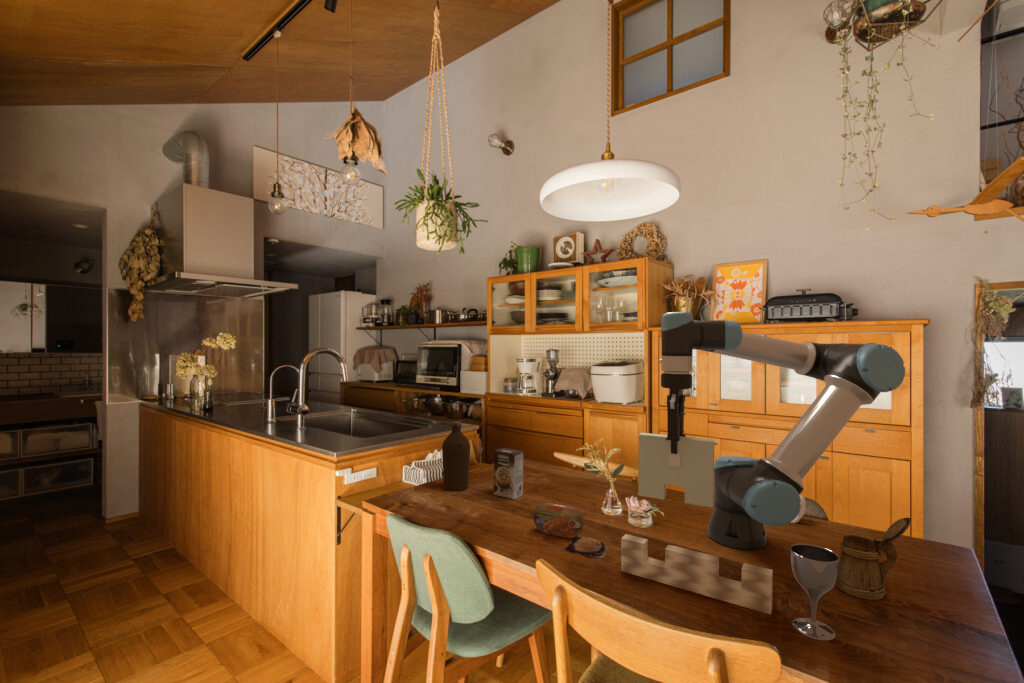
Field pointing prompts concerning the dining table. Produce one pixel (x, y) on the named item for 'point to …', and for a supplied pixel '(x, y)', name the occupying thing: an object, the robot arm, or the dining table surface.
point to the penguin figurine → (802, 510)
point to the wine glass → (814, 584)
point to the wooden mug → (868, 562)
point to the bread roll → (587, 547)
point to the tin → (558, 520)
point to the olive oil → (456, 459)
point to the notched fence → (698, 574)
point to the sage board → (677, 468)
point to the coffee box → (508, 473)
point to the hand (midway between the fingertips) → (675, 464)
